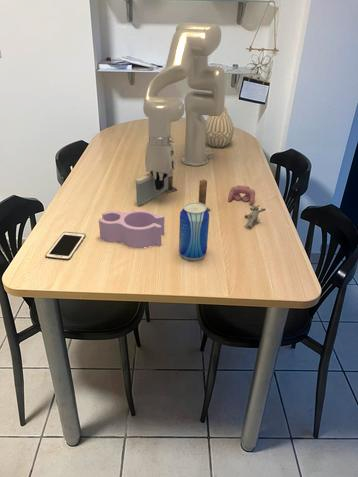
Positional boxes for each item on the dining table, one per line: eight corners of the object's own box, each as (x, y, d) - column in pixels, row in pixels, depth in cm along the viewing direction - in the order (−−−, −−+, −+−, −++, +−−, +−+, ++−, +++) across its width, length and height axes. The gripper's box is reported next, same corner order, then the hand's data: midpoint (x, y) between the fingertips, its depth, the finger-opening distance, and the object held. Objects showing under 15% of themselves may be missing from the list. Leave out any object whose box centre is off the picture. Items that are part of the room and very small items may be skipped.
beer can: (177, 246, 123) (178, 200, 114) (204, 246, 123) (207, 200, 115) (180, 262, 116) (181, 214, 107) (208, 261, 116) (212, 214, 108)
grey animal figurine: (232, 224, 136) (242, 206, 141) (243, 235, 138) (252, 217, 143) (252, 216, 128) (262, 198, 133) (264, 228, 130) (273, 210, 135)
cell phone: (86, 236, 128) (86, 233, 127) (69, 261, 115) (69, 259, 115) (63, 233, 128) (63, 231, 128) (44, 259, 116) (43, 256, 116)
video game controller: (253, 206, 152) (257, 188, 151) (252, 205, 147) (256, 187, 147) (228, 201, 154) (231, 184, 153) (226, 201, 150) (230, 183, 149)
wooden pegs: (161, 189, 159) (161, 162, 153) (170, 186, 161) (171, 159, 155) (200, 214, 141) (202, 184, 135) (210, 211, 144) (212, 182, 138)
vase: (237, 144, 210) (241, 105, 199) (223, 152, 198) (227, 111, 188) (211, 138, 217) (213, 100, 207) (196, 146, 206) (198, 106, 195)
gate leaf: (164, 187, 157) (164, 165, 152) (168, 189, 156) (169, 167, 151) (136, 203, 145) (135, 179, 140) (140, 204, 144) (139, 181, 139)
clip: (96, 245, 123) (94, 225, 119) (107, 225, 133) (105, 207, 130) (159, 250, 121) (159, 231, 117) (165, 230, 132) (165, 212, 128)
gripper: (183, 140, 137) (182, 188, 146) (145, 134, 141) (146, 181, 151) (175, 146, 131) (173, 196, 140) (135, 139, 136) (136, 188, 145)
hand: (159, 188), depth 146 cm, fingers closed
